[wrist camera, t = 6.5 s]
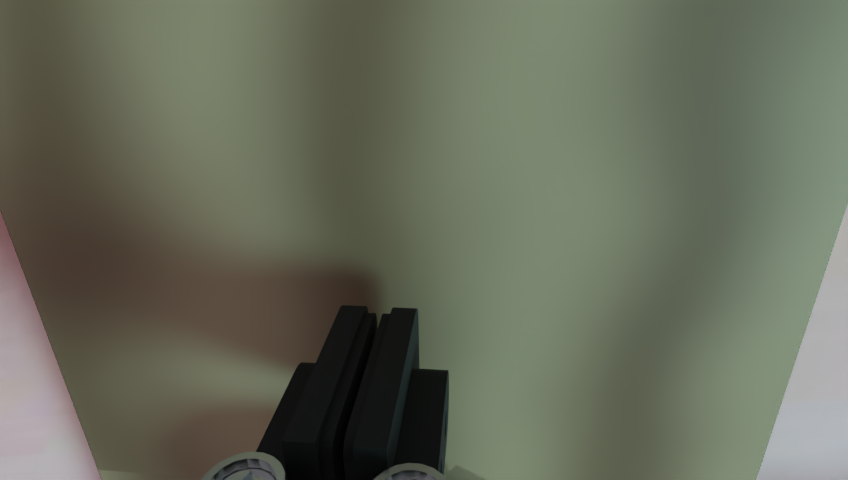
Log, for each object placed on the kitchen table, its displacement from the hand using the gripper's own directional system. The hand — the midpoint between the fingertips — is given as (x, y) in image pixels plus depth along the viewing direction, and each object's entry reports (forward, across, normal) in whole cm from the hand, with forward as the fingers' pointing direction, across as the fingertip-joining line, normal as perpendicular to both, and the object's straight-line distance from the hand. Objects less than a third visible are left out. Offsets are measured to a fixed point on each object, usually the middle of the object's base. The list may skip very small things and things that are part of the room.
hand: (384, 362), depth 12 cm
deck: (+4, 0, +3) cm, 5 cm away
